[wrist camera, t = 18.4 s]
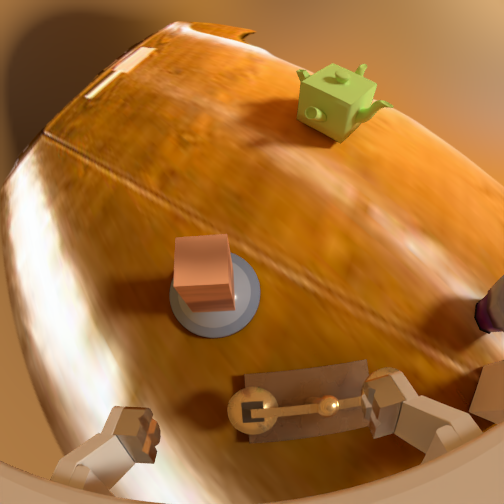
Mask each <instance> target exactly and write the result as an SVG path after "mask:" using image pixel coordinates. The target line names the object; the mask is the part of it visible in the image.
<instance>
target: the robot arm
mask: <svg viewBox="0 0 504 504" xmlns="http://www.w3.org/2000/svg"><path fill="white" fill-rule="evenodd" d="M362 389H363V391H364V394H363V396H362V397H361V407H362V412H363V415H364V417H365V419H367V420H369V429H370V431H371V433H372V436H373V438H374V439H375V438H378V437H382V436H385V435H389V434H392V433H394V434H395V435H397V436H398V437H400V438H402V439H403V440H405V441H406V442H408V443H409V444H411V445H412V446H414V447H416V448H417V449H419V450H420V451H422V452H424V453H425V454H426V455H425V457H424V459H423V461H422V463H421V464H420V465H418V466H415V467H413V468H410V469H407V470H405V471H402V472H399V473H397V474H394V475H391V476H388V477H385V478H382V479H379V480H376V481H373V482H369V483H366V484H362V485H359V486H355V487H351V488H348V489H344V490H339V491H335V492H331V493H326V494H321V495H316V496H311V497H305V498H299V499H293V500H286V501H278V502H269V503H259V504H504V421H502V422H501V423H499V424H498V425H496V426H495V427H493V428H491V429H490V430H488V431H486V432H485V433H483V432H482V431H481V430H480V428H479V427H478V425H477V424H476V423H475V421H474V420H473V419H472V417H471V416H470V415H469V414H468V413H466V412H463V411H460V410H458V409H455V408H453V407H450V406H448V405H445V404H442V403H440V402H437V401H435V400H433V399H430V398H428V397H425V396H423V395H421V396H418V395H417V393H416V392H415V390H414V389H413V387H412V386H411V384H410V383H409V381H408V380H407V379H406V377H405V376H404V374H403V373H402V372H401V371H398V372H394V373H391V374H388V375H385V376H381V377H378V378H374V379H370V380H367V381H364V383H363V388H362ZM152 416H153V413H152V411H151V409H150V408H141V407H120V406H115V407H113V408H112V410H111V412H110V414H109V417H108V419H107V421H106V423H105V426H104V428H103V430H102V432H101V434H100V433H98V434H96V435H95V436H93V437H92V438H91V439H89V440H88V441H86V442H85V443H83V444H82V445H81V446H79V447H78V448H76V449H75V450H73V451H72V452H70V453H69V454H67V455H66V456H64V457H63V458H61V459H60V460H59V462H58V464H57V466H56V468H55V471H54V473H53V475H52V477H51V479H50V480H48V479H45V478H42V477H39V476H36V475H33V474H30V473H28V472H26V471H23V470H21V469H18V468H15V467H13V466H11V465H8V464H6V463H4V462H2V461H0V504H164V503H154V502H145V501H138V500H131V499H125V498H119V497H116V496H115V495H114V494H113V493H112V492H111V491H110V489H111V488H112V487H113V486H114V485H115V484H116V483H117V482H118V481H119V480H120V479H121V478H122V477H123V476H124V475H125V474H126V472H127V471H128V470H129V469H130V468H131V467H132V466H133V465H134V464H135V463H152V464H154V462H155V458H156V454H157V450H156V448H155V446H156V445H157V444H159V442H160V428H159V425H158V423H157V421H155V420H154V419H152Z"/></svg>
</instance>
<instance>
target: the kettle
mask: <svg viewBox="0 0 504 504" xmlns="http://www.w3.org/2000/svg"><path fill="white" fill-rule="evenodd" d="M366 68H367V65H366V64H362V65H360V66H359V67H358V69H357V70H356V72H355V73H354V72H352V71H350V70H347V69H345V68H342V67H340V66H338V65H335V64H331V65H329V66H327V67H325V68H324V69H322V70H320V71H318V72H317V73H315V74H313V75H311V76H310V75H309V73H308V72H307V71H306V70H301V69H300V70H298V71H296V72H297V74H298V77H299V79H300V81H301V85H300V94H299V103H298V111H297V120H298V121H300V122H302V123H304V124H306V125H307V126H309V127H312V128H314V129H315V130H317V131H319V132H321V133H323V134H325V135H326V136H328V137H330V138H332V139H333V140H335V141H337V142H339V143H342V142H343V141H344V140H345V139H346V138H347V137H348V136H349V135H350V134H351V133H352V132H353V131H354V130H355V129H356V128H357V127H358V126H359V125H360V124H361V123H364V122H366V121H368V120H370V119H371V118H372V117H373V116H374V115H375V113H376V112H377V111H378V110H379V109H381V108H384V107H390V108H393V105H391V104H390V103H388V102H386V101H382V100H378V101H376V102H374V103H373V104H372V105H371V103H372V100H373V97H374V93H375V90H376V87H377V83H374V82H373V81H371V80H368V79H367V78H364V77H363V74H364V72H365V70H366Z"/></svg>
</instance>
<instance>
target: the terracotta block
mask: <svg viewBox="0 0 504 504" xmlns="http://www.w3.org/2000/svg"><path fill="white" fill-rule="evenodd" d="M173 287H174V288H175V289H176V291H177V292H178V293H179V295H180V296H181V297H182V299H183V300H184V301H185V303H186V304H187V305H188V307H189V308H190V309H191V311H192V312H215V311H234V310H235V293H234V272H233V265H232V260H231V254H230V249H229V243H228V238H227V234H221V235H206V236H193V237H179V238H176V241H175V260H174V286H173Z"/></svg>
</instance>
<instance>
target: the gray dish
mask: <svg viewBox="0 0 504 504" xmlns="http://www.w3.org/2000/svg"><path fill="white" fill-rule="evenodd" d="M230 254H231V260H232V265H233V272H234V293H235V310H234V311H215V312H192V311H191V309H190V308H189V307H188V305H187V304H186V303H185V301H184V300H183V299H182V297H181V296H180V295H179V293H178V292H177V291H176V289H175V288H174V287H173V286H174V277H173V280H172V283H171V286H170V294H169V295H170V304H171V308H172V311H173V313H174V315H175V317H176V318H177V320H178V321H179V322H180V323H181V324H182V325H183V326H184V327H185V328H186V329H187V330H189V331H190V332H192V333H194V334H196V335H198V336H201V337H205V338H223V337H227V336H230V335H233V334H235V333H237V332H239V331H240V330H242V329H243V328H244V327H245V326H246V325H247V324H248V323H249V322H250V321H251V320H252V318H253V317H254V315H255V313H256V311H257V309H258V306H259V301H260V285H259V281H258V278H257V276H256V273H255V272H254V270H253V268H252V267H251V266H250V265H249V264H248V263H247V262H246V261H245V260H244V259H242V258H241V257H239V256H237V255H235V254H233V253H230Z"/></svg>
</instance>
